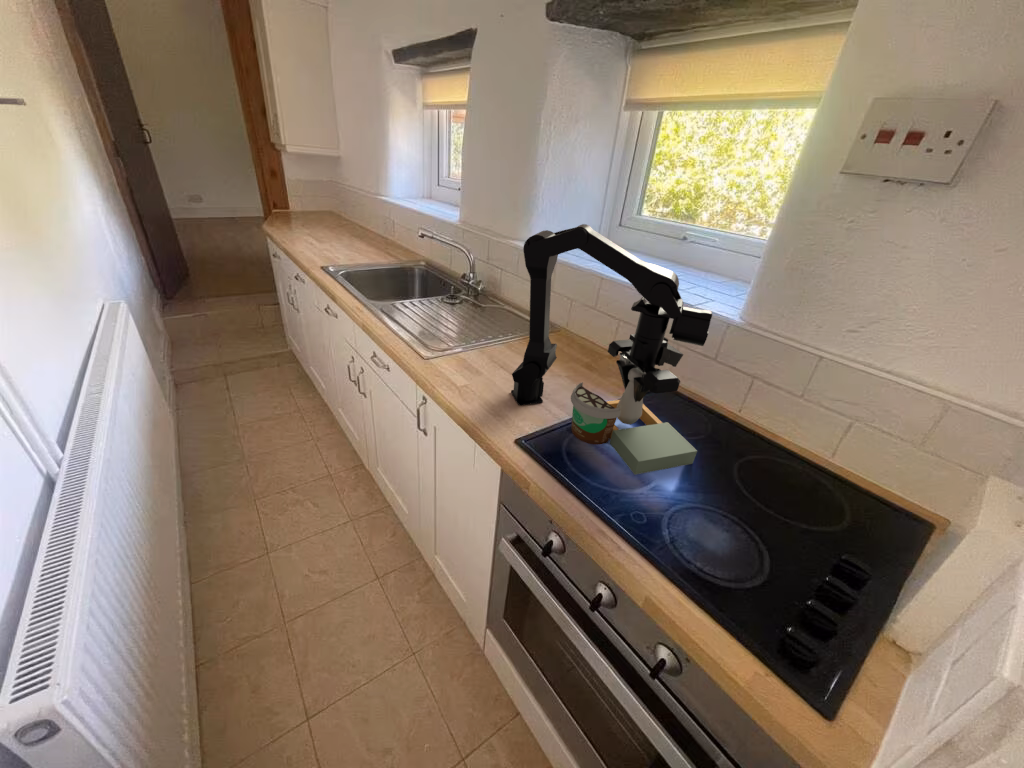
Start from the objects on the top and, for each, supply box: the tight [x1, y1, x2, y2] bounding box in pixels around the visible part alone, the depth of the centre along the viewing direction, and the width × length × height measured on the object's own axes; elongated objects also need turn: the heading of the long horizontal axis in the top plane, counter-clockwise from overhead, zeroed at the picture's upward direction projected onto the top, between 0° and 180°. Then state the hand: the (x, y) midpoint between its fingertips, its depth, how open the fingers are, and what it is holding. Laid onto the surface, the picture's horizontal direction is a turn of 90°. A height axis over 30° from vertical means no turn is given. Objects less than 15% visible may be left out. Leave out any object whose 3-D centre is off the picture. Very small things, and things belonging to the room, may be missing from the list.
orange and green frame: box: [606, 399, 698, 476], centre depth 91 cm, size 14×21×4 cm, turn 18°
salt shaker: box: [616, 368, 644, 426], centre depth 91 cm, size 6×6×13 cm
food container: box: [570, 381, 621, 446], centre depth 88 cm, size 12×6×10 cm, turn 35°
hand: (632, 397), depth 91 cm, fingers closed on salt shaker, 3 cm apart
